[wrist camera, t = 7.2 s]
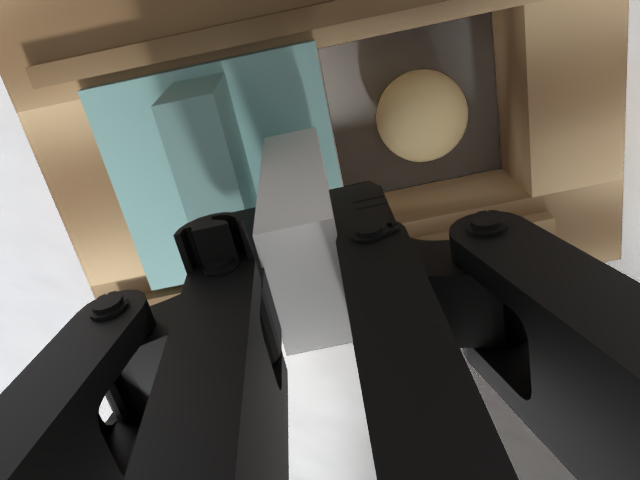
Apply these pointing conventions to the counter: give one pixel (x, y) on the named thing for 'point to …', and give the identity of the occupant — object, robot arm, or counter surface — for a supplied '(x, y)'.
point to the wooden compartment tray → (327, 30)
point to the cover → (202, 140)
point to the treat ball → (422, 115)
